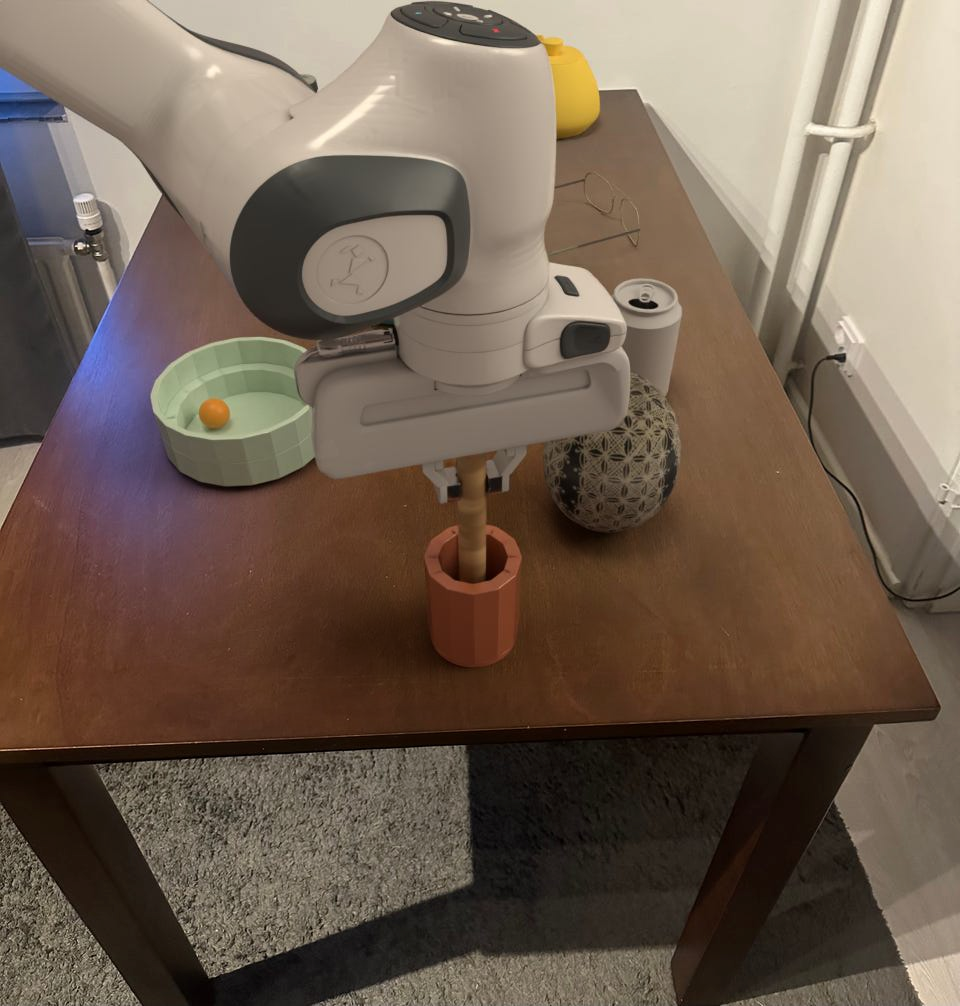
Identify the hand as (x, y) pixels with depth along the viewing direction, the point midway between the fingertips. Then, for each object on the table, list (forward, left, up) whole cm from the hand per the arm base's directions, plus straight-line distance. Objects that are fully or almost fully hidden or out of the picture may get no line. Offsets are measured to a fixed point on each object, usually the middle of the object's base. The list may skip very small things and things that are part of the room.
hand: (471, 491), depth 61 cm
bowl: (-28, +18, -16) cm, 37 cm away
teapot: (-17, +106, -16) cm, 109 cm away
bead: (-31, +18, -13) cm, 39 cm away
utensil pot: (0, 0, -16) cm, 16 cm away
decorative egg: (+8, +16, -16) cm, 24 cm away
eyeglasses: (-5, +68, -16) cm, 70 cm away
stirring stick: (0, 0, -15) cm, 15 cm away
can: (+8, +35, -16) cm, 39 cm away
